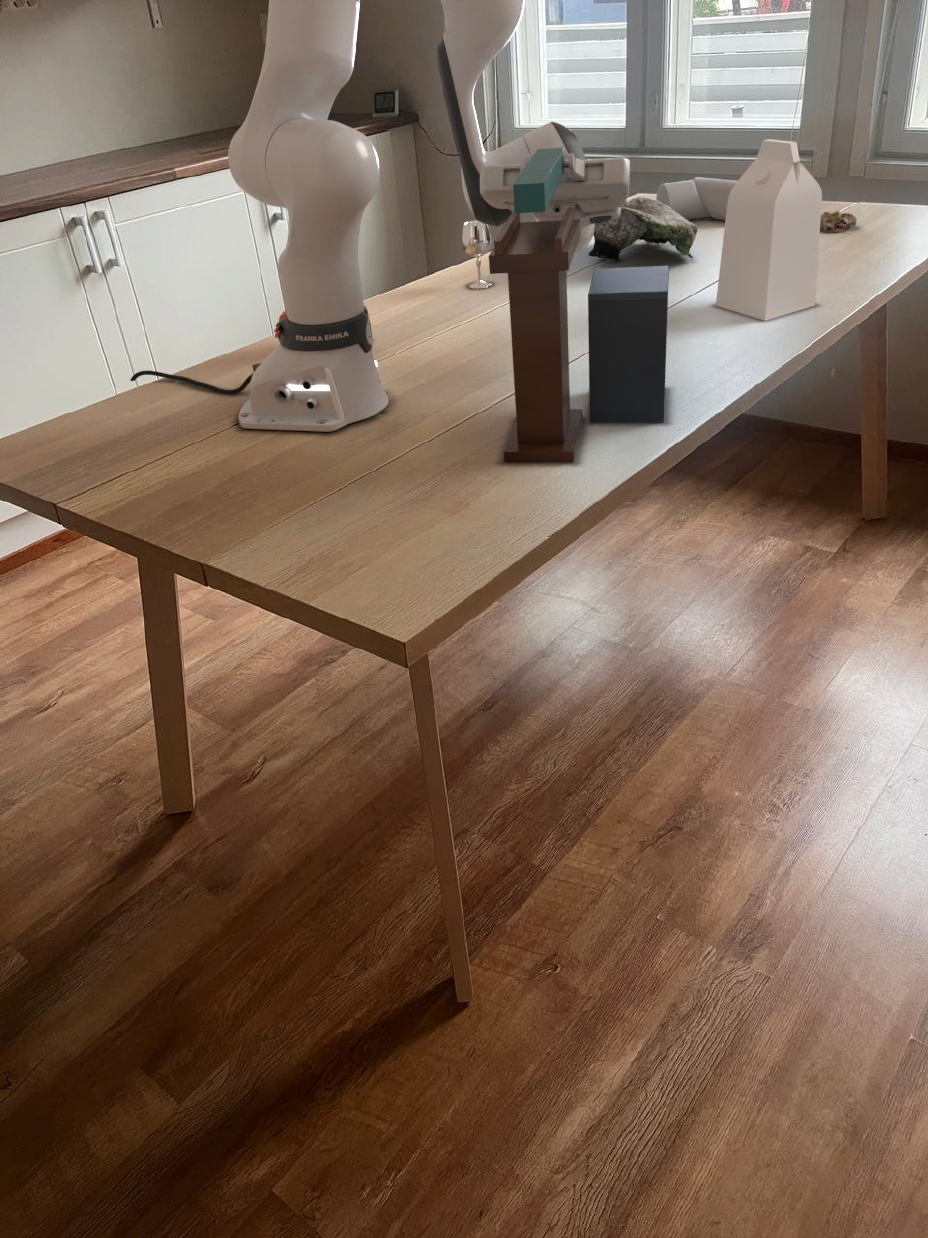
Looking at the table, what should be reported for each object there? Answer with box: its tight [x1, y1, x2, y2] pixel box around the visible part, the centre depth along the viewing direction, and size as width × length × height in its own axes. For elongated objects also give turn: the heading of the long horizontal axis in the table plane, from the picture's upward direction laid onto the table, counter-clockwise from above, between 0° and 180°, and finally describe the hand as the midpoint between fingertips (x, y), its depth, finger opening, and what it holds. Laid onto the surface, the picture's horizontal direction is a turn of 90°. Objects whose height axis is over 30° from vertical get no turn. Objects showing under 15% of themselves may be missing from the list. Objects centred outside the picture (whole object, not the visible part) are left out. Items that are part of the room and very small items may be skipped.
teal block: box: [513, 148, 565, 214], centre depth 115 cm, size 23×4×3 cm, turn 170°
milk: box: [715, 138, 823, 322], centre depth 159 cm, size 12×12×26 cm
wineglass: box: [461, 219, 492, 290], centre depth 189 cm, size 6×6×12 cm
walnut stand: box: [488, 207, 584, 463], centre depth 120 cm, size 16×9×28 cm, turn 169°
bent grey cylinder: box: [655, 176, 738, 221], centre depth 219 cm, size 18×11×20 cm
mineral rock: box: [820, 210, 858, 233], centre depth 205 cm, size 11×4×8 cm
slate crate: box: [587, 265, 670, 424], centre depth 130 cm, size 12×10×18 cm
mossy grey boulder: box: [588, 196, 698, 261], centre depth 196 cm, size 29×30×15 cm
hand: (548, 160), depth 122 cm, fingers closed on teal block, 3 cm apart
